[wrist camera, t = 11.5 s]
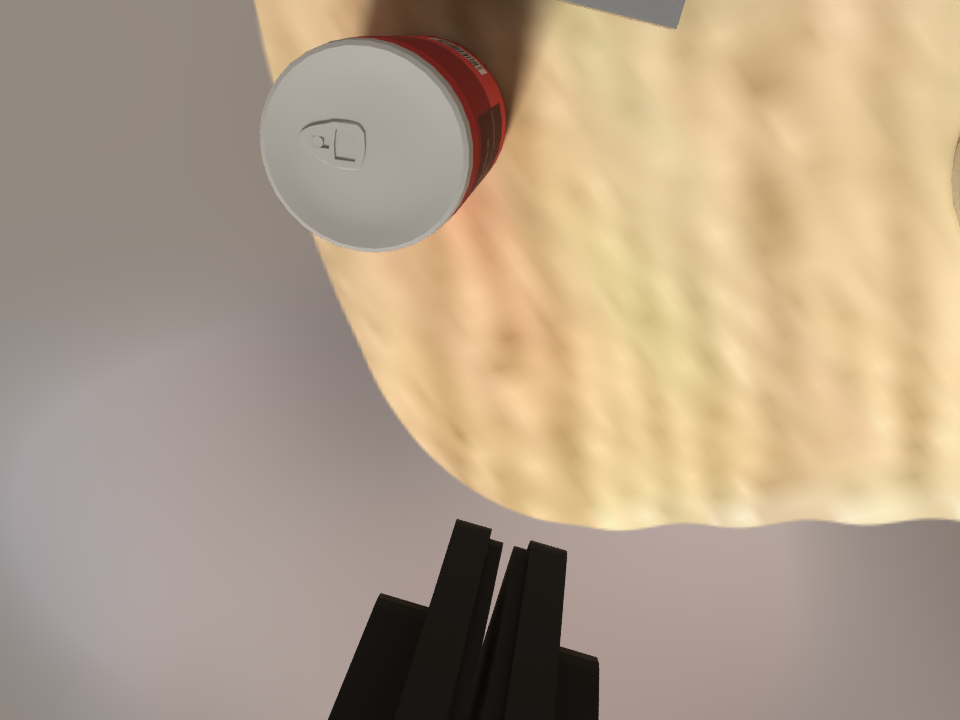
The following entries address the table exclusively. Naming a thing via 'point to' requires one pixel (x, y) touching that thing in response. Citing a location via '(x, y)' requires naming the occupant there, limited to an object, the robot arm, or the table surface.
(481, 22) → the table surface
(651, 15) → the grey slotted tray
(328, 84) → the canned food
